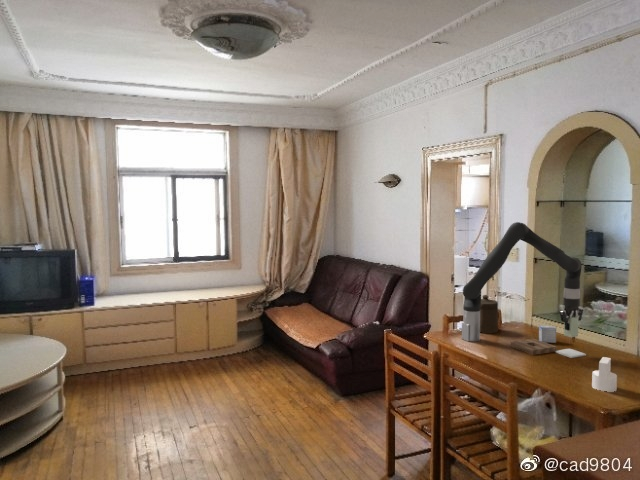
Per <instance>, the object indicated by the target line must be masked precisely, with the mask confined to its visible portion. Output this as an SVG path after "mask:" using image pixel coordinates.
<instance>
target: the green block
mask: <svg viewBox="0 0 640 480" xmlns="http://www.w3.org/2000/svg"><path fill="white" fill-rule="evenodd" d="M567 317H569V316H567ZM578 318H579V316H578V317H575V316H572V318H571V319H570V330H565V322H563V323H564V325H563V336H565V337H569V338H576V337H579V321H578ZM567 320H568V318H567Z"/></svg>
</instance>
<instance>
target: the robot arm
mask: <svg viewBox="0 0 640 480" xmlns="http://www.w3.org/2000/svg"><path fill="white" fill-rule="evenodd" d="M519 241H523V242H525V243H526V244H529V245H531V247H533V248H535V249H536V250H537V251H538V252H540V253H541V254H542V255H543V256H545V257H547V258H548V259H549V260H551V261H553V262H554V263H556V265H558V266H559V267H561V268H562V269H563V270H564V271H566V274H565V278H564V286H563V306H564V308H563V310H559V316H560V322H563V323H564V322H565V330H570V319H571V318H572V316H575V317H578V322H579V321H581V320H582V317H583V313H584V309H583V308H580V306H581V273H582V266H583V265H582V262H581V260H580V259H579V258H577V257H570V255H568V254H566V253H565V251H564V250H562V249H561V248H559V247H558V246H556V245H554V244H553V243H552V242H550V241H548V240H546V239H544V238H542V237H541V236H539V234H537V233H535V232H534V231H533V230H532V229H531V228H530V227H528V225H526V223H522V222H520V221H519V222H518V221H516V222H514V223H511V224H510V226H509V227H508V229H507V230H506V232H505V233H504V234H503V237H502V238H501V239H500V241H499V242H498V243H497V244H496V246H494V248H493V249H492V250H491V251H490V253H488V255H487V256H486V257H485V259H484V260H483V262H482V263H481V265H480V266H479V268H478V270H477V271H476V273H475V275H473V277H472V278H471V279H470V280H469V281H468V282H467V283H466V284H465V285H463V288H462V295H463V297H464V301H463V302H464V303H463V306H462V307H463V311H462V312H463V313H462V314H463V319H462V321H463V322H461V339H462V340H464V341H465V342H479V341H480V340H481V333H480V306H481V299H482V290H483V288H484V286H485V285H486V284H487V283H488V282H489V281H490V280H491V279H492V278H493V277H494V276H495V275H496V274H497V273H498V272H499V270H501V268H502V267H503V265H504V264H505V263H506V262H507V259H508V257H509V255H510V253H511V251H512V249H513V248H514V247H515V246H516V245H517V244H518V242H519ZM567 316H569V317H567ZM567 318H568V320H567Z"/></svg>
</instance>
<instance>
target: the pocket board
mask: <svg viewBox="0 0 640 480" xmlns="http://www.w3.org/2000/svg"><path fill="white" fill-rule="evenodd" d="M509 344H510V347H511V348H513V349H516V350H519V351H521V352H524V353H526V354H529V355H532V356H535V355H536V356H537V355H541V354H542V355H543V354H548V353H549V354H550V353H556V352H555V351H557V350H558V349H557V347H558V346H555V345H553V344H550V343H545V342H542V341H539V339H536V338H528V339H523V340H515V341H510V343H509Z"/></svg>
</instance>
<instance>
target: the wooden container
mask: <svg viewBox="0 0 640 480" xmlns="http://www.w3.org/2000/svg"><path fill="white" fill-rule="evenodd" d="M498 311H499V301H497V300H493V299H489V296H488V295H487V294H484V295H482V298H481V306H480V332H482V333H481V334H495V333H498V331H499V329H498V328H499V314H498V313H499V312H498Z"/></svg>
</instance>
